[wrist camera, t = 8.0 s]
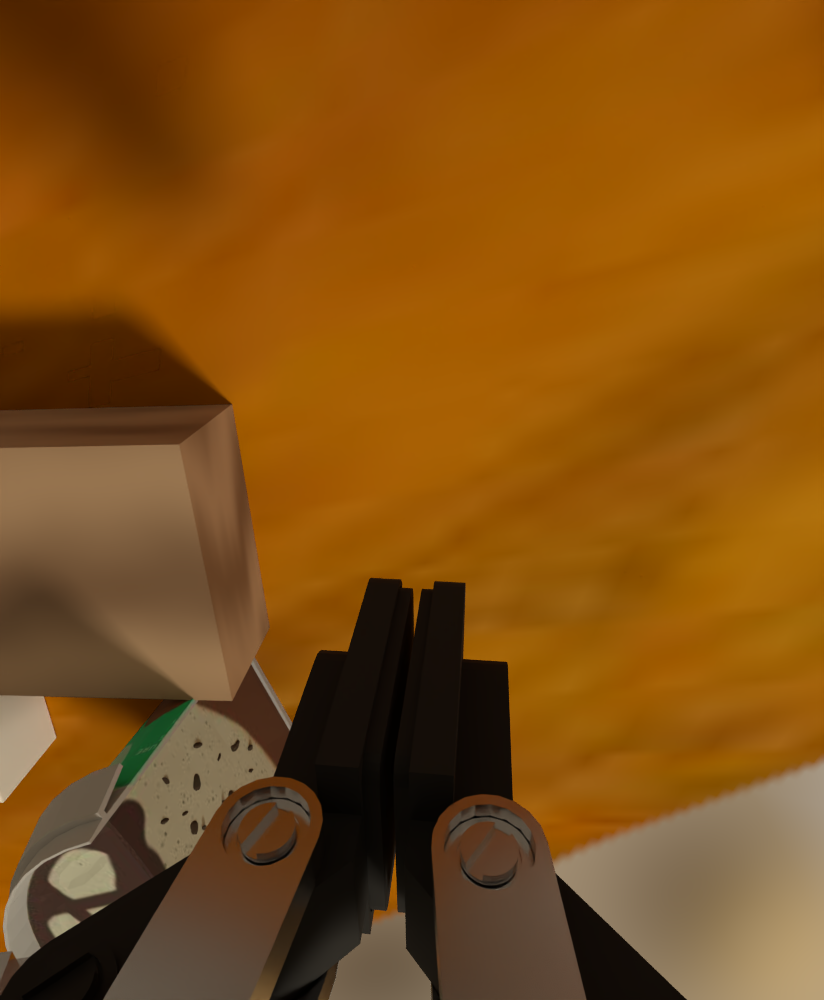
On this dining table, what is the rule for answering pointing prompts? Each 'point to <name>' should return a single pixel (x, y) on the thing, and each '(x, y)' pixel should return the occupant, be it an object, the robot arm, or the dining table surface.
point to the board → (22, 738)
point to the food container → (141, 809)
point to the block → (126, 554)
